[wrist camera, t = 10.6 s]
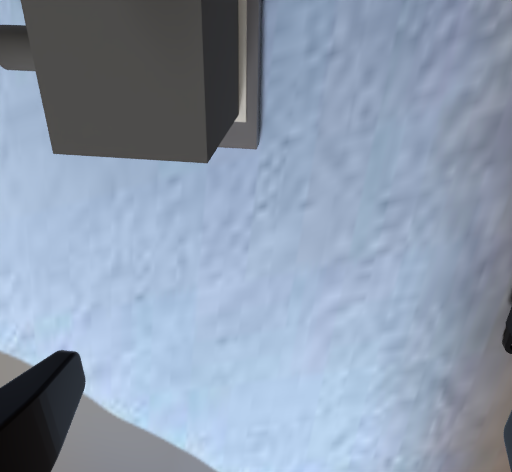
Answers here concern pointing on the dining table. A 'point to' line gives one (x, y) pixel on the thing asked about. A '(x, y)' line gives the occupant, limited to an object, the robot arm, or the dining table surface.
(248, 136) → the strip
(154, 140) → the grey block with peg
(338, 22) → the dining table surface
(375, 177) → the dining table surface
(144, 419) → the dining table surface
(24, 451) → the robot arm
